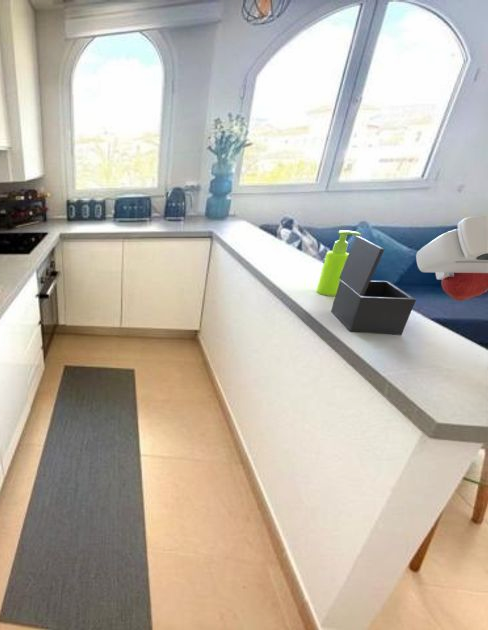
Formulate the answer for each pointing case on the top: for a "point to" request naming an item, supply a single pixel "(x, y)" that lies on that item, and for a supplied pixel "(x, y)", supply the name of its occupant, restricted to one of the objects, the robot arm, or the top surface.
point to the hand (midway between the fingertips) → (464, 276)
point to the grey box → (373, 308)
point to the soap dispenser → (334, 265)
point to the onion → (466, 285)
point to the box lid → (361, 264)
